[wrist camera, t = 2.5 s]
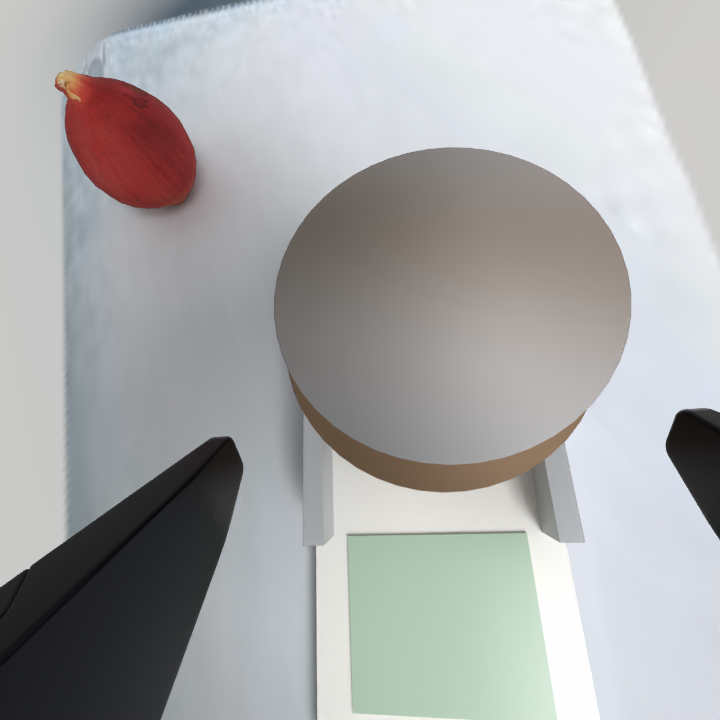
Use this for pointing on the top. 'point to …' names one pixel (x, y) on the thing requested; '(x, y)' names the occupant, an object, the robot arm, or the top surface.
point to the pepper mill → (451, 317)
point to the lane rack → (445, 595)
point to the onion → (127, 141)
